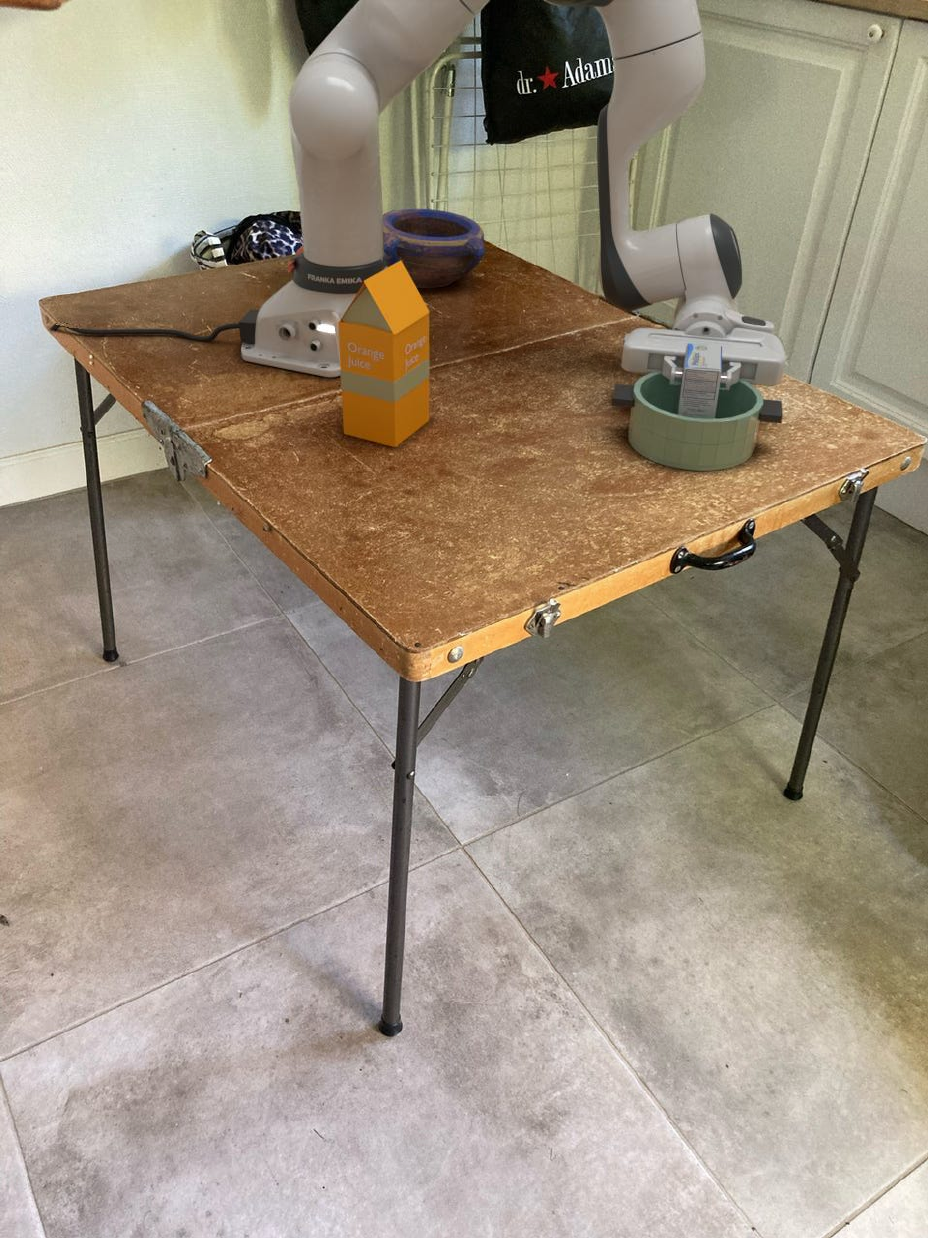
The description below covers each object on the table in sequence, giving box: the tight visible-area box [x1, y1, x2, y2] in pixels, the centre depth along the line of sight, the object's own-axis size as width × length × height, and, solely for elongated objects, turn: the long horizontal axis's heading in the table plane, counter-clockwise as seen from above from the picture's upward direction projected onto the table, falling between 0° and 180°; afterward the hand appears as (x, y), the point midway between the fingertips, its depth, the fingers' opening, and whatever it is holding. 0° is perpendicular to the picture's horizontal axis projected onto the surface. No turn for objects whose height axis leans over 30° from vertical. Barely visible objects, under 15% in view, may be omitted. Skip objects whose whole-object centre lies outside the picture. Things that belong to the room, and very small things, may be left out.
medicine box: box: [678, 343, 722, 419], centre depth 130 cm, size 8×4×9 cm, turn 169°
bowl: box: [383, 208, 486, 289], centre depth 179 cm, size 18×18×10 cm
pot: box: [627, 372, 764, 472], centre depth 132 cm, size 16×16×6 cm
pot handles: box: [611, 383, 784, 424], centre depth 131 cm, size 20×4×1 cm, turn 78°
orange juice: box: [338, 261, 431, 448], centre depth 130 cm, size 8×9×20 cm
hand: (700, 381), depth 130 cm, fingers closed on medicine box, 4 cm apart
